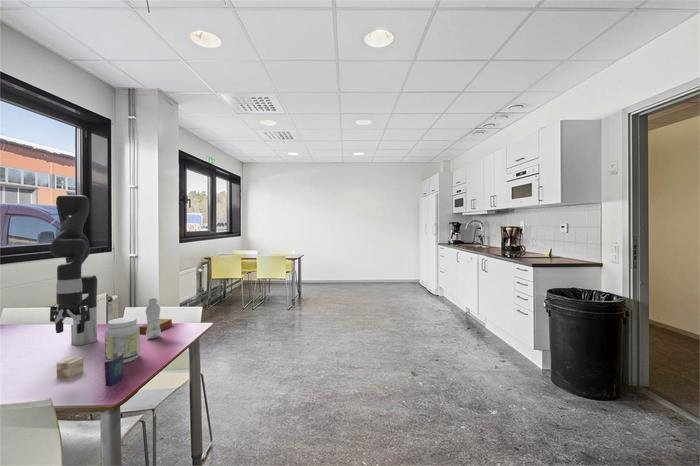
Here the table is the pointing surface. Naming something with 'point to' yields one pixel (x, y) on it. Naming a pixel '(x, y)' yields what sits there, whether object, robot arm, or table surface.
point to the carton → (163, 323)
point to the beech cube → (69, 367)
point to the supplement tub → (122, 338)
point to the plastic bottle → (153, 319)
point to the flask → (114, 369)
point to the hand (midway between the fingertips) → (70, 332)
